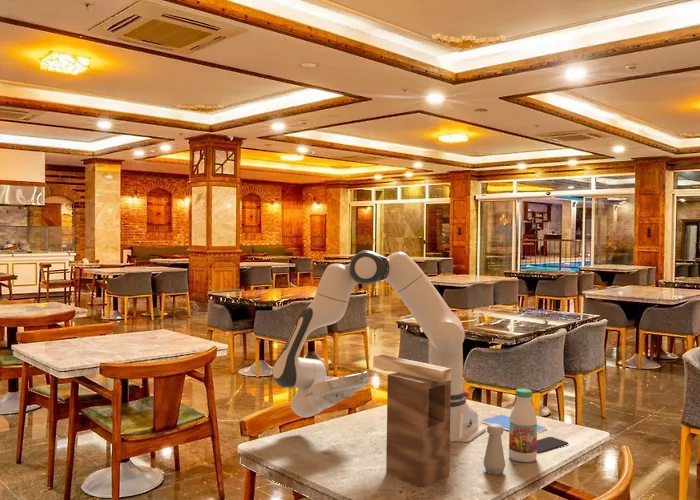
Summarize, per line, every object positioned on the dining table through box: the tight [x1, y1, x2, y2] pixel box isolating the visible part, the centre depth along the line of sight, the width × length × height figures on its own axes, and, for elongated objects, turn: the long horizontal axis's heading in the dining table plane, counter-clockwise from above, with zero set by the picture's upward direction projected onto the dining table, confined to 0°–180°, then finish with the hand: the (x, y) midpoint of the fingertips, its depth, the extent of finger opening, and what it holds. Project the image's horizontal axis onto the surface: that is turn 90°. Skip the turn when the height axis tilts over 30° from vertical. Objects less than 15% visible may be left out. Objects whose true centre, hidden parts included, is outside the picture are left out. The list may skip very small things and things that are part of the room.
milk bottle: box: [508, 388, 538, 463], centre depth 179 cm, size 8×8×20 cm
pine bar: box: [372, 354, 451, 382], centre depth 168 cm, size 4×24×3 cm, turn 44°
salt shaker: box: [483, 424, 506, 476], centre depth 169 cm, size 6×6×13 cm
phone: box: [536, 436, 569, 454], centre depth 191 cm, size 7×1×15 cm
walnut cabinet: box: [385, 372, 451, 488], centre depth 166 cm, size 12×12×27 cm
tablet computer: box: [479, 414, 548, 433], centre depth 210 cm, size 19×13×1 cm, turn 38°
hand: (355, 376), depth 183 cm, fingers open, 8 cm apart
